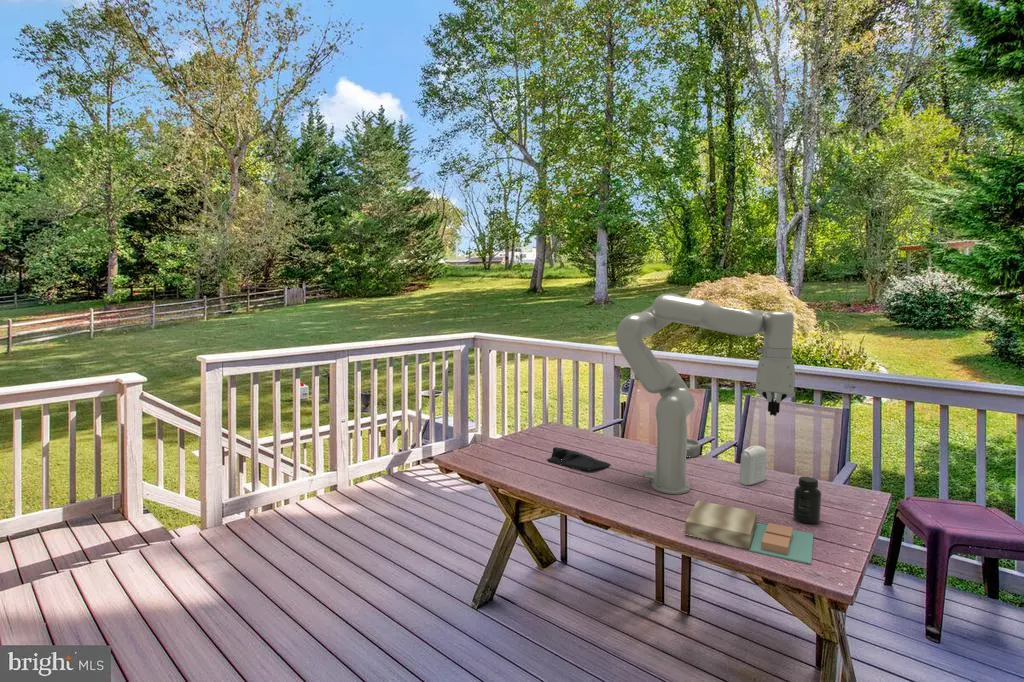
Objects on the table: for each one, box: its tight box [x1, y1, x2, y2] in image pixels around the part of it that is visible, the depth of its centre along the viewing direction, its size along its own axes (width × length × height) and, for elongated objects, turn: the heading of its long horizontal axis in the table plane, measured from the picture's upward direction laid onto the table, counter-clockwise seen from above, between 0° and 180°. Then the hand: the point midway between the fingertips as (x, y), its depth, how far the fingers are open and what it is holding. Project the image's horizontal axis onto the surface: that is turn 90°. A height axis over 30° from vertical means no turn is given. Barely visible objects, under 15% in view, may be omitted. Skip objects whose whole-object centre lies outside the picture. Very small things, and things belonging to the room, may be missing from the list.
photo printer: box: [739, 445, 768, 486], centre depth 190 cm, size 10×4×12 cm, turn 123°
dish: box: [687, 437, 701, 458], centre depth 222 cm, size 14×14×5 cm
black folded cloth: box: [546, 446, 611, 472], centre depth 210 cm, size 15×22×5 cm
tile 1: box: [766, 522, 794, 544], centre depth 149 cm, size 6×6×2 cm
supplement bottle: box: [792, 476, 822, 525], centre depth 160 cm, size 7×7×12 cm
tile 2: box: [761, 533, 790, 555], centre depth 143 cm, size 6×6×2 cm
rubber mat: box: [749, 522, 814, 565], centre depth 147 cm, size 14×18×1 cm
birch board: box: [684, 500, 758, 550], centre depth 154 cm, size 16×16×4 cm
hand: (773, 414), depth 167 cm, fingers closed
